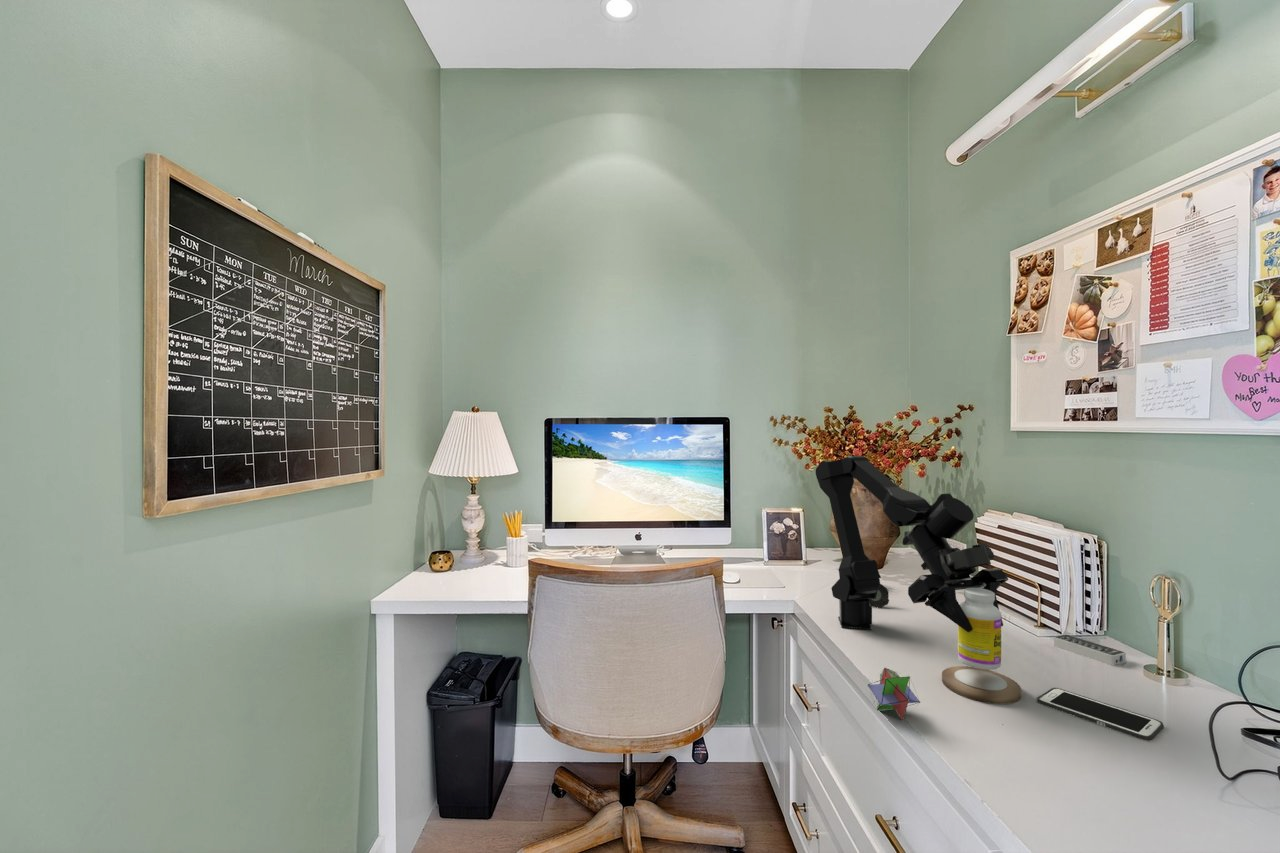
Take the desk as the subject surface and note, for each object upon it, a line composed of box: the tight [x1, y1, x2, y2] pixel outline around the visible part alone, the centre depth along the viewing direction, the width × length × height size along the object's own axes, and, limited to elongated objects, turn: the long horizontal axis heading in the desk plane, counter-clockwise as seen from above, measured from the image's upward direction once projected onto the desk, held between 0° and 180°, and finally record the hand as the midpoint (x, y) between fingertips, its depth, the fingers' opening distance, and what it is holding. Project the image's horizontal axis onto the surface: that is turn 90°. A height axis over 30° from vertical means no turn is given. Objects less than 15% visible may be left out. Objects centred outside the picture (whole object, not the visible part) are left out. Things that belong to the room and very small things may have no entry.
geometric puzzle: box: [866, 667, 921, 722], centre depth 90 cm, size 7×7×8 cm
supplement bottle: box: [957, 588, 1002, 671], centre depth 99 cm, size 7×7×13 cm
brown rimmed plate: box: [941, 665, 1022, 705], centre depth 99 cm, size 12×12×2 cm
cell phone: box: [1036, 687, 1165, 742], centre depth 90 cm, size 8×15×1 cm, turn 34°
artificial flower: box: [869, 583, 890, 609], centre depth 155 cm, size 9×22×10 cm, turn 161°
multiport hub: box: [1053, 634, 1127, 667], centre depth 114 cm, size 4×11×2 cm, turn 23°
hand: (985, 628), depth 98 cm, fingers closed on supplement bottle, 7 cm apart
